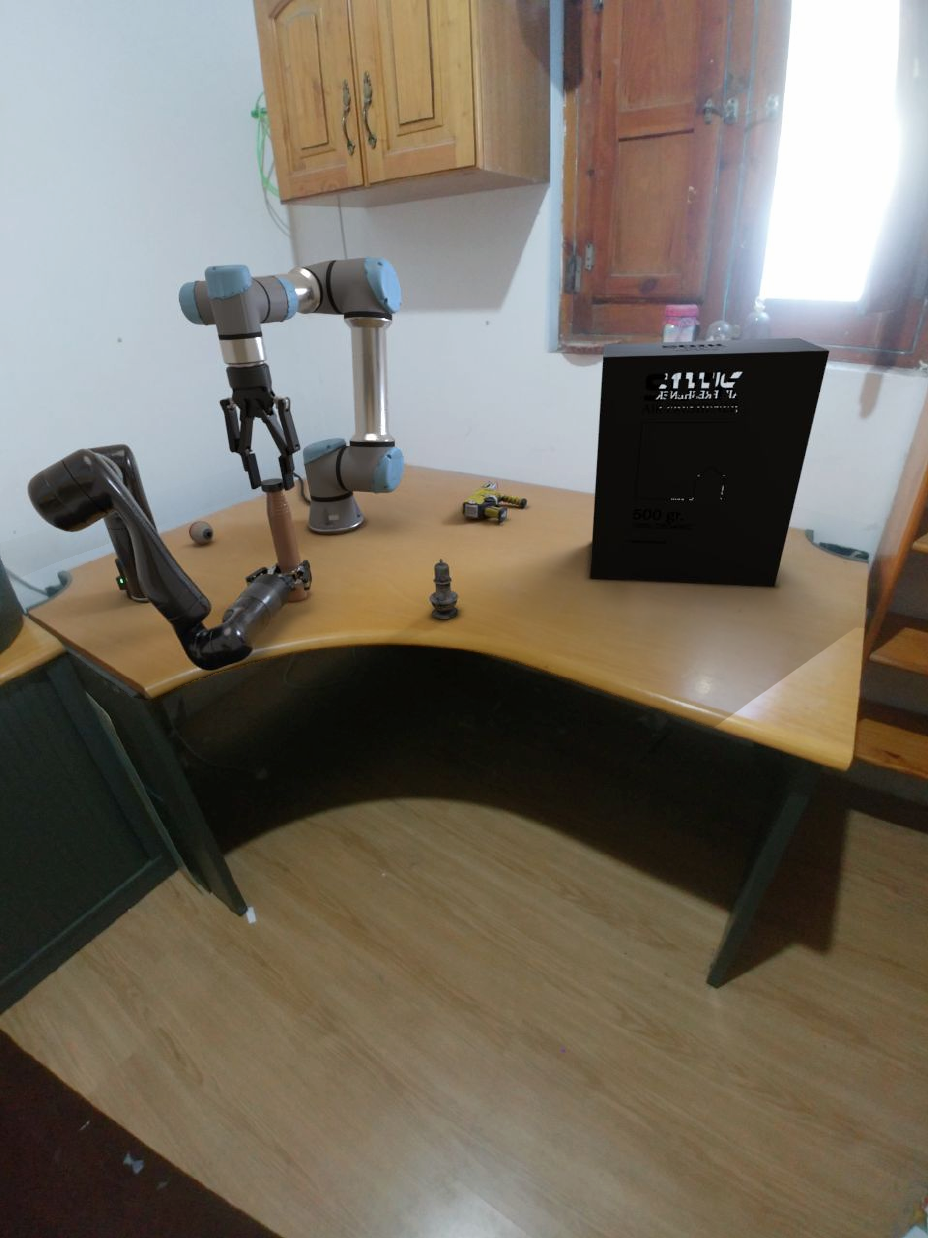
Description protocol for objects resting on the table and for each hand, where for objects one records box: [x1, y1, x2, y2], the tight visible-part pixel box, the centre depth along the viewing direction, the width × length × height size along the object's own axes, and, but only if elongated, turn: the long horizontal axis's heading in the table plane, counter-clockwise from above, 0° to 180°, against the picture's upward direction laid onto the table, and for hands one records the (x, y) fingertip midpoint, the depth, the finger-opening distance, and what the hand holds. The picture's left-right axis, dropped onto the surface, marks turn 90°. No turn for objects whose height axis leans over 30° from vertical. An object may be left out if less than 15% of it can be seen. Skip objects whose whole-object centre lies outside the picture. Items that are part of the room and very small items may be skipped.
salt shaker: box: [428, 558, 459, 620], centre depth 120 cm, size 6×6×12 cm
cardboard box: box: [589, 337, 830, 587], centre depth 126 cm, size 38×20×45 cm, turn 78°
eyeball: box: [188, 520, 214, 545], centre depth 161 cm, size 6×6×6 cm
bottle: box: [265, 490, 308, 602], centre depth 126 cm, size 5×5×25 cm
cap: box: [260, 477, 285, 494], centre depth 120 cm, size 4×4×2 cm
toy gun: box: [461, 480, 528, 523], centre depth 173 cm, size 5×24×15 cm
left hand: (295, 563), depth 131 cm, fingers closed on bottle, 4 cm apart
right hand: (273, 487), depth 120 cm, fingers open, 7 cm apart
